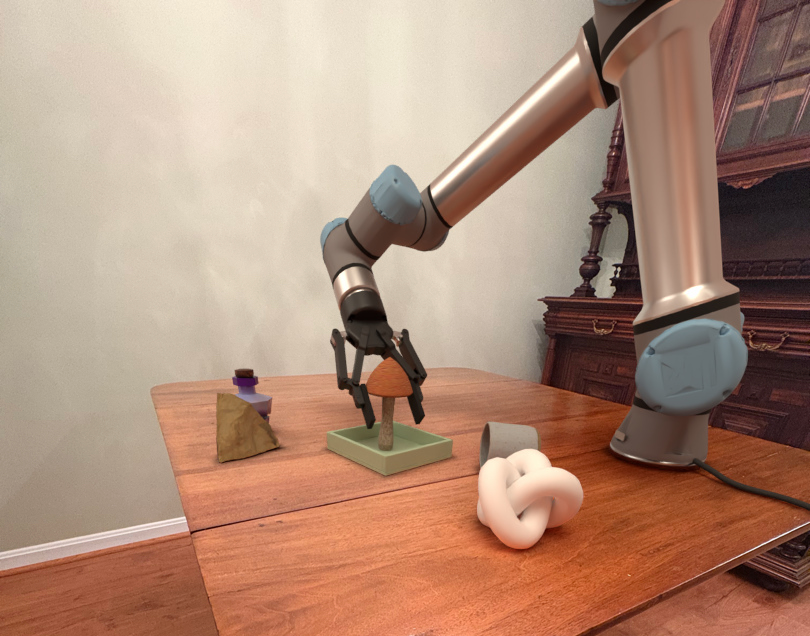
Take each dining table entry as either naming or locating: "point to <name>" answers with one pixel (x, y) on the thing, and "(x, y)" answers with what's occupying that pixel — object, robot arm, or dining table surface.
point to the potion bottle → (252, 392)
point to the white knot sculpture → (525, 497)
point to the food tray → (406, 452)
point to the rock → (241, 429)
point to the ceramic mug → (506, 440)
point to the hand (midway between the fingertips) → (396, 422)
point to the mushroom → (388, 395)
